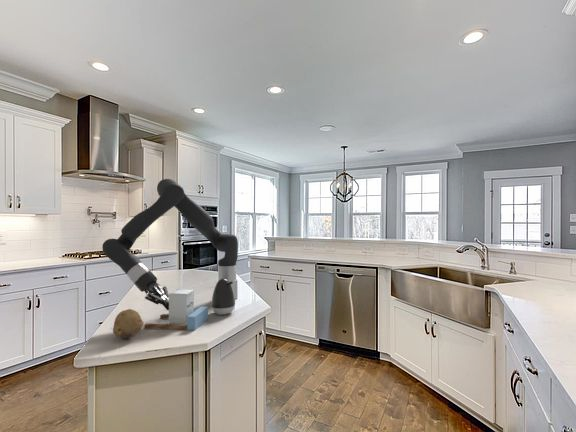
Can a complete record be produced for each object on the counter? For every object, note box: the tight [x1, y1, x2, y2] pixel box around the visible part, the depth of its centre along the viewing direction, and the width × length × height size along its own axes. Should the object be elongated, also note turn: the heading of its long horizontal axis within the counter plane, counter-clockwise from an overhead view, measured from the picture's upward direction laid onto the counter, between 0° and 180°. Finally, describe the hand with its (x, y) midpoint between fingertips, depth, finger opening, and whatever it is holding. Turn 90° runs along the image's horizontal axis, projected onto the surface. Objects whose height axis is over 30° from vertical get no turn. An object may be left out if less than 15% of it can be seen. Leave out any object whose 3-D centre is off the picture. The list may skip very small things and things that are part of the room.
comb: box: [143, 313, 188, 331], centre depth 121 cm, size 17×13×2 cm
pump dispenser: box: [210, 278, 236, 316], centre depth 133 cm, size 10×10×15 cm
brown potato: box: [112, 308, 144, 340], centre depth 106 cm, size 9×9×10 cm
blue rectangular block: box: [186, 306, 209, 331], centre depth 120 cm, size 3×13×5 cm, turn 174°
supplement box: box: [168, 288, 195, 324], centre depth 121 cm, size 7×7×13 cm
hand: (170, 308), depth 121 cm, fingers closed
